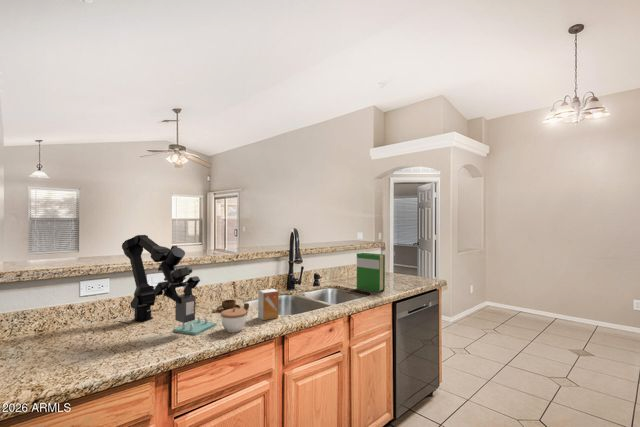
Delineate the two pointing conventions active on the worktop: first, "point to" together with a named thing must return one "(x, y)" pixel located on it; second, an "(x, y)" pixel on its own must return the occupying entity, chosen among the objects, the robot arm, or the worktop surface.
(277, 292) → the small box
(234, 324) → the lidded jar
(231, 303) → the place setting
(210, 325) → the pin tray
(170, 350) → the worktop surface
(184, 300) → the plate
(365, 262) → the hardback book
